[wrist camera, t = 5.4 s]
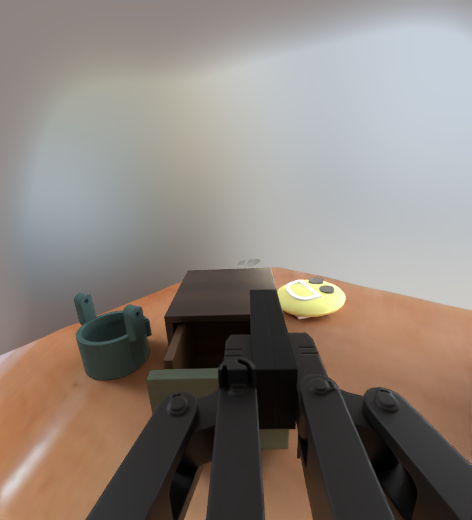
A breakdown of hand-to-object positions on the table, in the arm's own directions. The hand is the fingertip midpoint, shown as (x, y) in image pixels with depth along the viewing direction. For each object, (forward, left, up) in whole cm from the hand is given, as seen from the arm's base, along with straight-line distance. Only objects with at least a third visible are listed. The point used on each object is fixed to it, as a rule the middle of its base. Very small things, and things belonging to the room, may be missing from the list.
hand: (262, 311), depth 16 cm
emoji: (+27, -17, -17) cm, 36 cm away
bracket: (+22, +14, -17) cm, 31 cm away
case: (+19, -1, -16) cm, 25 cm away
